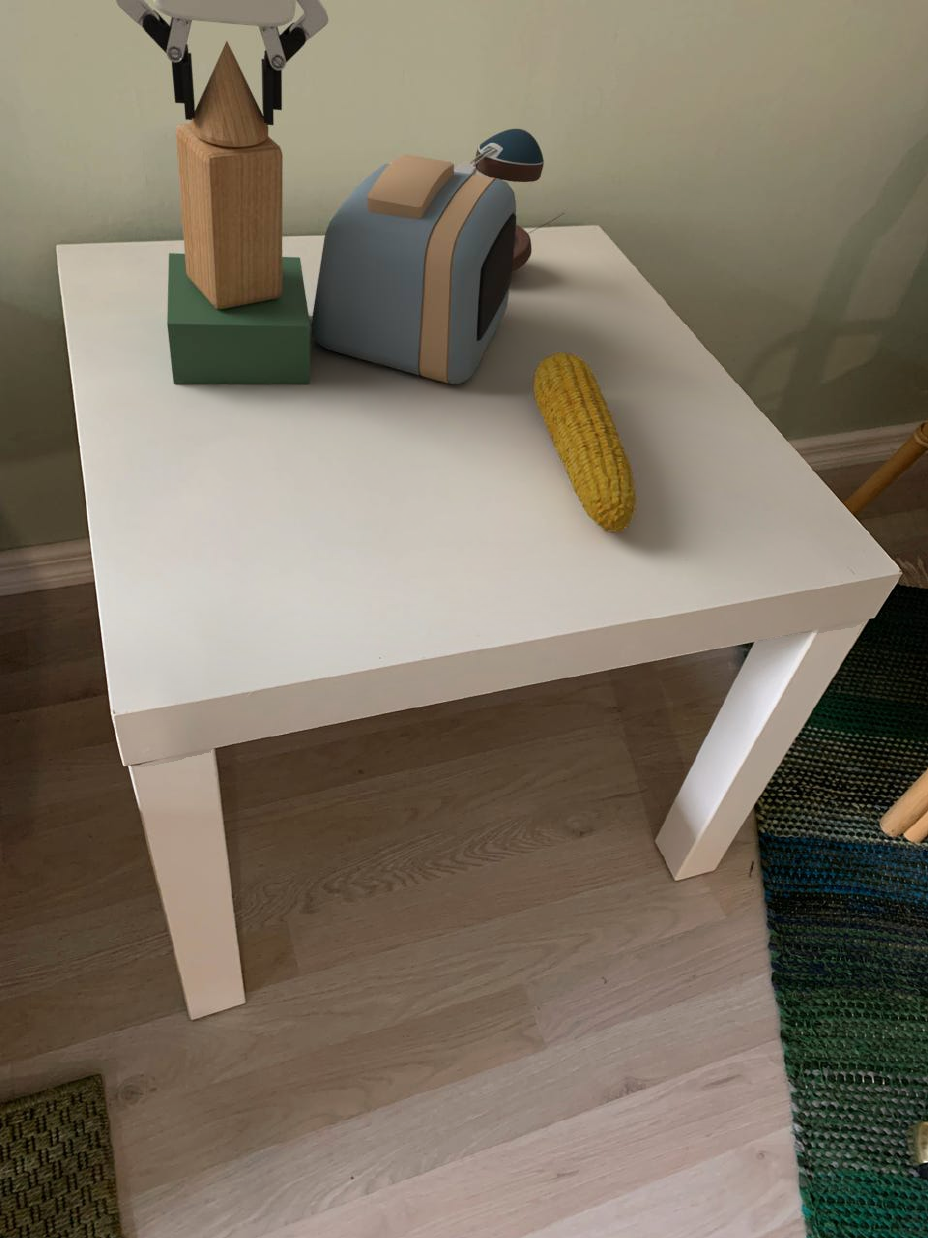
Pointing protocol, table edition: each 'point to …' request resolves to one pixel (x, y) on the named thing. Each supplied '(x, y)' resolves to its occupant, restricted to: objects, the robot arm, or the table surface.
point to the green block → (238, 333)
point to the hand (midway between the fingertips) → (229, 112)
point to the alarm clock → (417, 269)
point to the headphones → (510, 172)
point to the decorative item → (231, 193)
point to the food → (586, 439)
